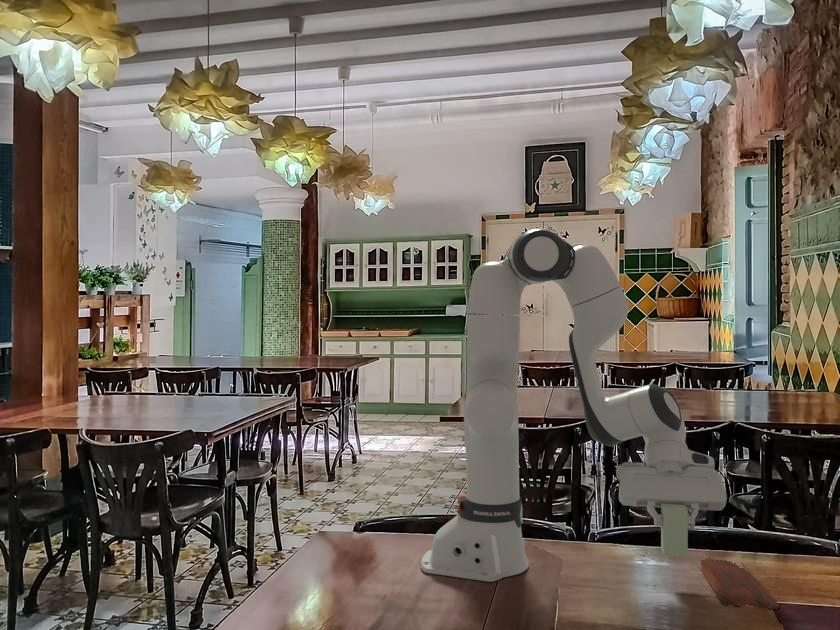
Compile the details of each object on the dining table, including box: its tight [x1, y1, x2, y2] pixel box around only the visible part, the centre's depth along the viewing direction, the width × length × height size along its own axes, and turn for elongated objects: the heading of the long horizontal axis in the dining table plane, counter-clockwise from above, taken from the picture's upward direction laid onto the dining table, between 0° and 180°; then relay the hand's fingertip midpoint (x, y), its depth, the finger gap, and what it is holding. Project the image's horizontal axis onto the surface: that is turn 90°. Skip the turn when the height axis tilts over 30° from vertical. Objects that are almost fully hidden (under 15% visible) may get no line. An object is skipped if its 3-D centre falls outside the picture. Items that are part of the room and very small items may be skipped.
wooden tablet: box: [701, 559, 780, 610], centre depth 135 cm, size 27×10×2 cm, turn 170°
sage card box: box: [660, 504, 689, 557], centre depth 134 cm, size 4×4×9 cm
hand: (674, 525), depth 133 cm, fingers closed on sage card box, 4 cm apart
